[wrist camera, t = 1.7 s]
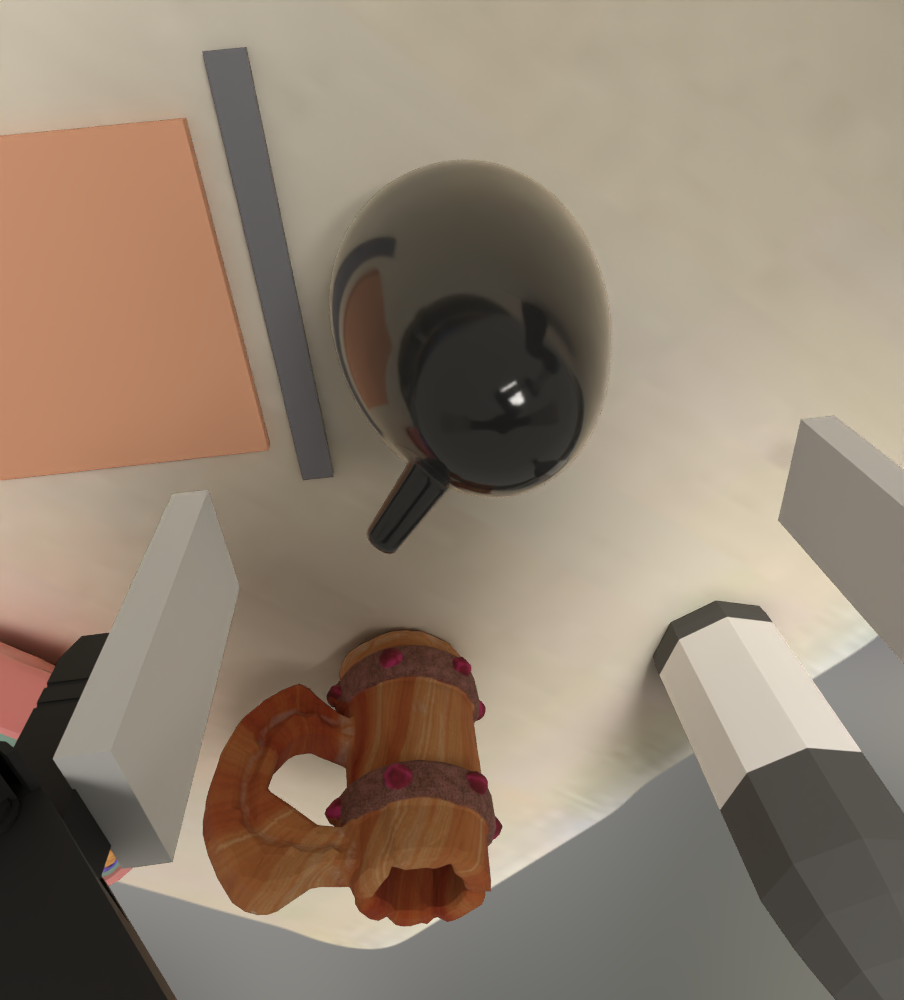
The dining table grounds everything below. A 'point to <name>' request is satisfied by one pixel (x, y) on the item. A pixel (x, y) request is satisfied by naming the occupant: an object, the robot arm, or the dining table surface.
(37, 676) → the cell model
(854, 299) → the dining table surface
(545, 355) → the pump dispenser
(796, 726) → the wine bottle
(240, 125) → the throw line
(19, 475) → the mat
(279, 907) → the mug
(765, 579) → the dining table surface
